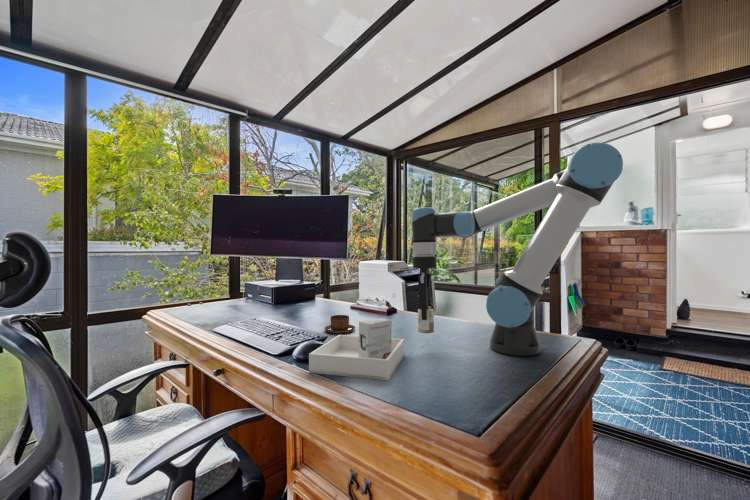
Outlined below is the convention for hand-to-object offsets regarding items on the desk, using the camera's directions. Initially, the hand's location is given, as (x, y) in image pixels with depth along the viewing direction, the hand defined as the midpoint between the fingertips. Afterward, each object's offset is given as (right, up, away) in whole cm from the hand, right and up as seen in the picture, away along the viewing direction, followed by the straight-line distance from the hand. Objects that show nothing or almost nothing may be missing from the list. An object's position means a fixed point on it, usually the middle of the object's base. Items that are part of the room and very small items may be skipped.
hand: (426, 327), depth 114 cm
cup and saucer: (-30, -8, +26) cm, 41 cm away
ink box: (-16, -7, -14) cm, 23 cm away
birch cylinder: (0, -1, 0) cm, 1 cm away
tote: (-21, -7, -13) cm, 25 cm away
